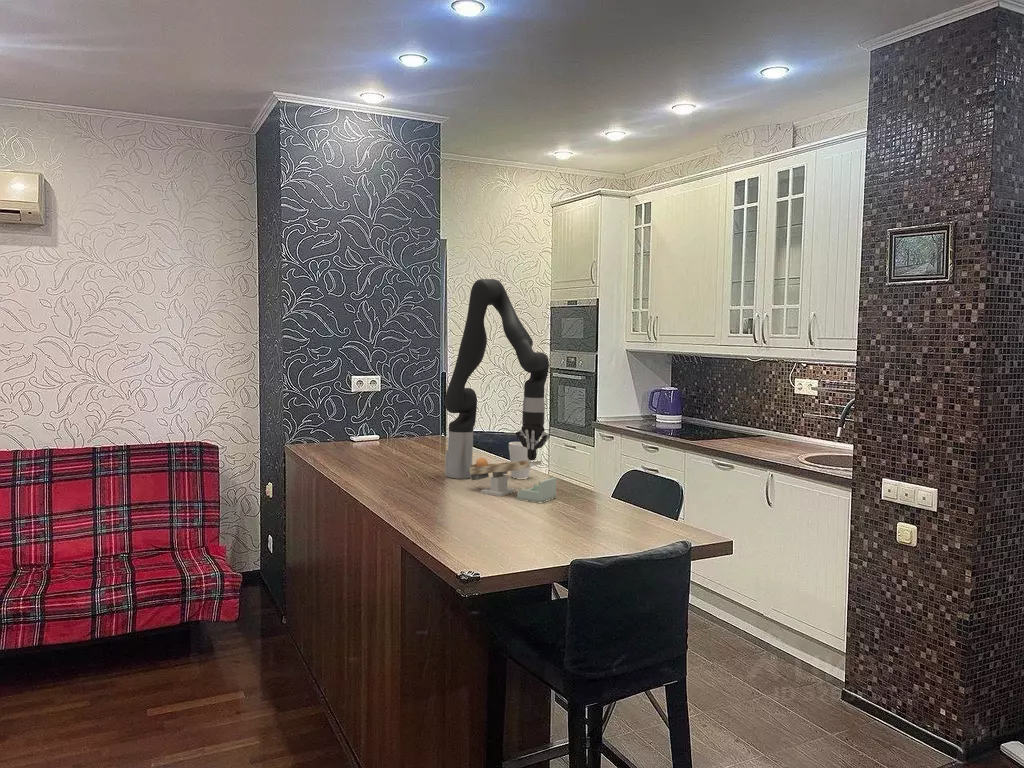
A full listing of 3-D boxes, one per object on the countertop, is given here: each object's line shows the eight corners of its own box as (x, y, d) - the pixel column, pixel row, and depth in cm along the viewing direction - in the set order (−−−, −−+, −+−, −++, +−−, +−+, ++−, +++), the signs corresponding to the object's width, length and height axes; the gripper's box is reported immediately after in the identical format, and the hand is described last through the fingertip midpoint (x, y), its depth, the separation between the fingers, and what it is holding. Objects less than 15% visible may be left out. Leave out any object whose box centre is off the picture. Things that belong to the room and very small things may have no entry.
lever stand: (480, 493, 268) (481, 476, 267) (496, 488, 276) (497, 472, 276) (500, 496, 263) (501, 480, 263) (516, 491, 272) (516, 475, 271)
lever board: (471, 480, 271) (469, 465, 272) (494, 474, 284) (493, 460, 284) (519, 476, 261) (517, 460, 261) (542, 470, 273) (540, 455, 274)
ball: (474, 470, 272) (473, 458, 272) (480, 468, 276) (479, 457, 276) (483, 469, 270) (482, 458, 270) (490, 468, 274) (489, 456, 274)
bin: (517, 499, 260) (517, 478, 259) (532, 494, 268) (533, 474, 268) (540, 503, 255) (541, 482, 255) (555, 498, 264) (556, 477, 263)
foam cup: (518, 481, 290) (519, 446, 289) (502, 476, 297) (503, 442, 296) (537, 478, 296) (538, 444, 295) (521, 474, 303) (522, 441, 302)
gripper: (511, 409, 272) (509, 459, 273) (544, 412, 265) (542, 463, 266) (522, 407, 278) (521, 456, 279) (555, 411, 271) (553, 460, 272)
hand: (531, 459), depth 273 cm, fingers closed
